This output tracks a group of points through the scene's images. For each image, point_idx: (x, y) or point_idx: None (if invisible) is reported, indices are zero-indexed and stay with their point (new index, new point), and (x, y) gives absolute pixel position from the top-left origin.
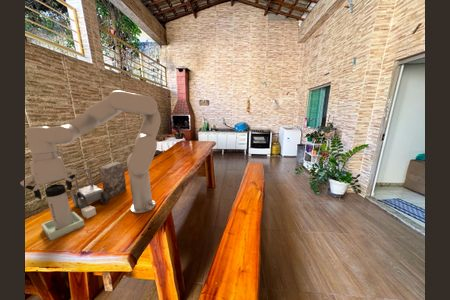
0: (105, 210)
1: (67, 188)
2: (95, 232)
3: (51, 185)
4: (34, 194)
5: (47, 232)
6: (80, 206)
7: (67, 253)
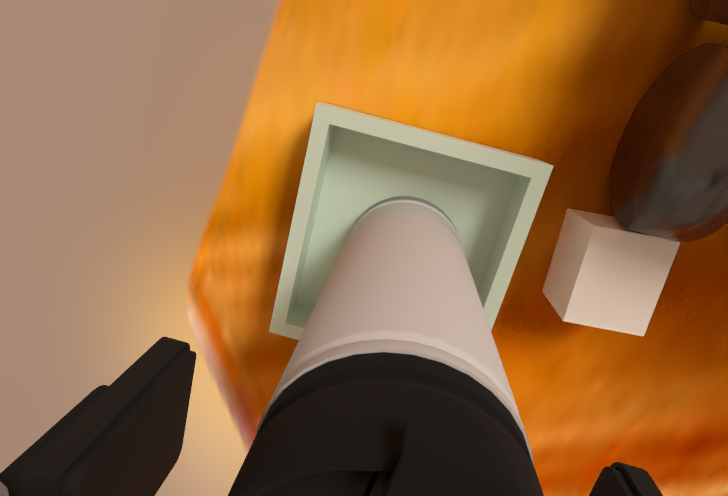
0: (682, 324)
1: (606, 474)
2: None
3: (403, 482)
4: (71, 416)
5: (277, 293)
6: (659, 117)
7: None
